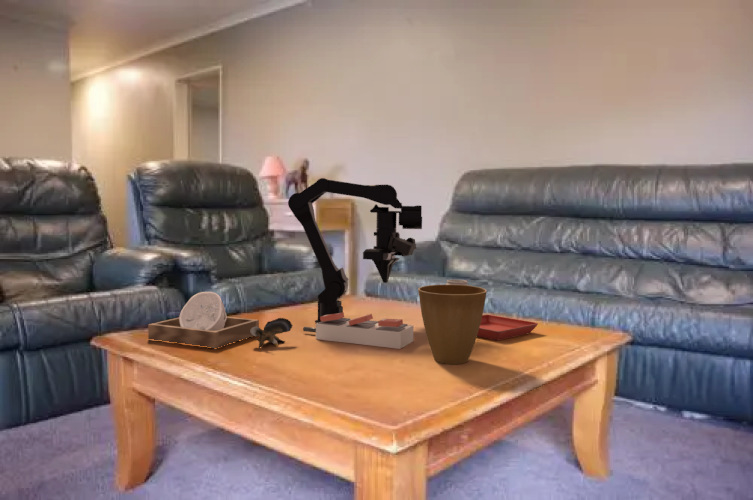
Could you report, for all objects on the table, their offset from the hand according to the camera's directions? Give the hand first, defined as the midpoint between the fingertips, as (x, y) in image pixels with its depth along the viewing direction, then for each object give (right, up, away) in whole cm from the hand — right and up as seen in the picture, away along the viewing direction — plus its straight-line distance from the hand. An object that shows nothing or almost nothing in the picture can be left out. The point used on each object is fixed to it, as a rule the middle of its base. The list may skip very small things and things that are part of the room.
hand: (385, 282), depth 170 cm
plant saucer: (+29, -14, -9) cm, 33 cm away
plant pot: (+14, -15, -40) cm, 45 cm away
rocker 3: (+1, -8, -27) cm, 28 cm away
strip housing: (-8, -13, -20) cm, 26 cm away
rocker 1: (-14, -8, -21) cm, 26 cm away
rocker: (-6, -8, -24) cm, 26 cm away
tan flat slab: (+22, -12, +9) cm, 27 cm away
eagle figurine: (-28, -14, -28) cm, 42 cm away
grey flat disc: (-46, -13, -21) cm, 52 cm away
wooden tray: (-46, -13, -21) cm, 52 cm away
